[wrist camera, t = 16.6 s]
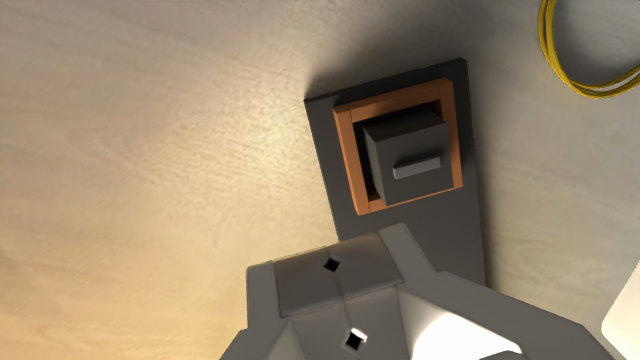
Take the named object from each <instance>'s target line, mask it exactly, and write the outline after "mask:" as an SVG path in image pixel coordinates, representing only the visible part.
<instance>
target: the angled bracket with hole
mask: <svg viewBox="0 0 640 360" xmlns="http://www.w3.org/2000/svg"><path fill="white" fill-rule="evenodd" d="M602 333H603V335H604V336H605V337H606V338H607V339H608V340H609V341H610V342H611V343H612V344H613V345H614V346H615V347H616V348H617V350H618V351H619V352H620V353H621V354H622V355H623V356H624V357H625V358H626V359H627V360H640V261H639V263H638V265H637V266H636V268H635V270H634V271H633V273H632V274H631V276H630V278H629V279H628V281H627V283H626V284H625V286H624V287H623V289H622V291H621V292H620V294H619V296H618V297H617V299H616V300H615V302H614V304H613V305H612V307H611V309H610V310H609V312H608V313H607V315H606V317H605V318H604V320H603V323H602Z"/></svg>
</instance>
